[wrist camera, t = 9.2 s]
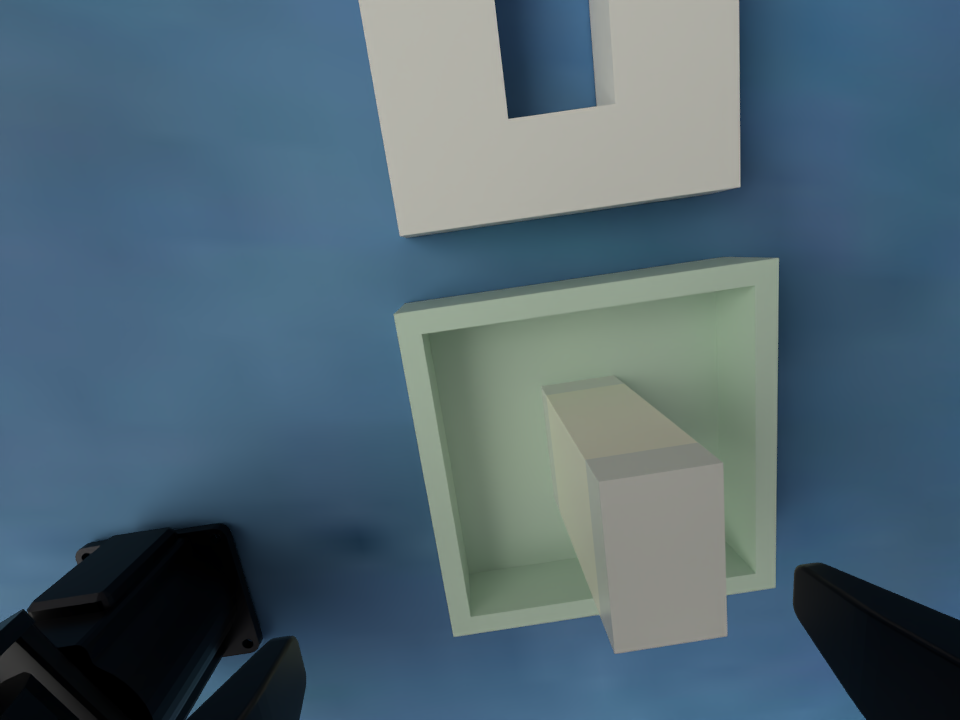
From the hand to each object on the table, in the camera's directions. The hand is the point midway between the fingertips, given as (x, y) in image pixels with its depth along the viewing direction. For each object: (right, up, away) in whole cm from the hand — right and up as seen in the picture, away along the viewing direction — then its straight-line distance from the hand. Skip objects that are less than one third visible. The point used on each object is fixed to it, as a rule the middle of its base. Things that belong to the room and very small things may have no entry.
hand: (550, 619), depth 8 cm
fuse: (+3, +1, +11) cm, 12 cm away
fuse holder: (+1, +16, +8) cm, 18 cm away
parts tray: (+3, +2, +12) cm, 12 cm away
